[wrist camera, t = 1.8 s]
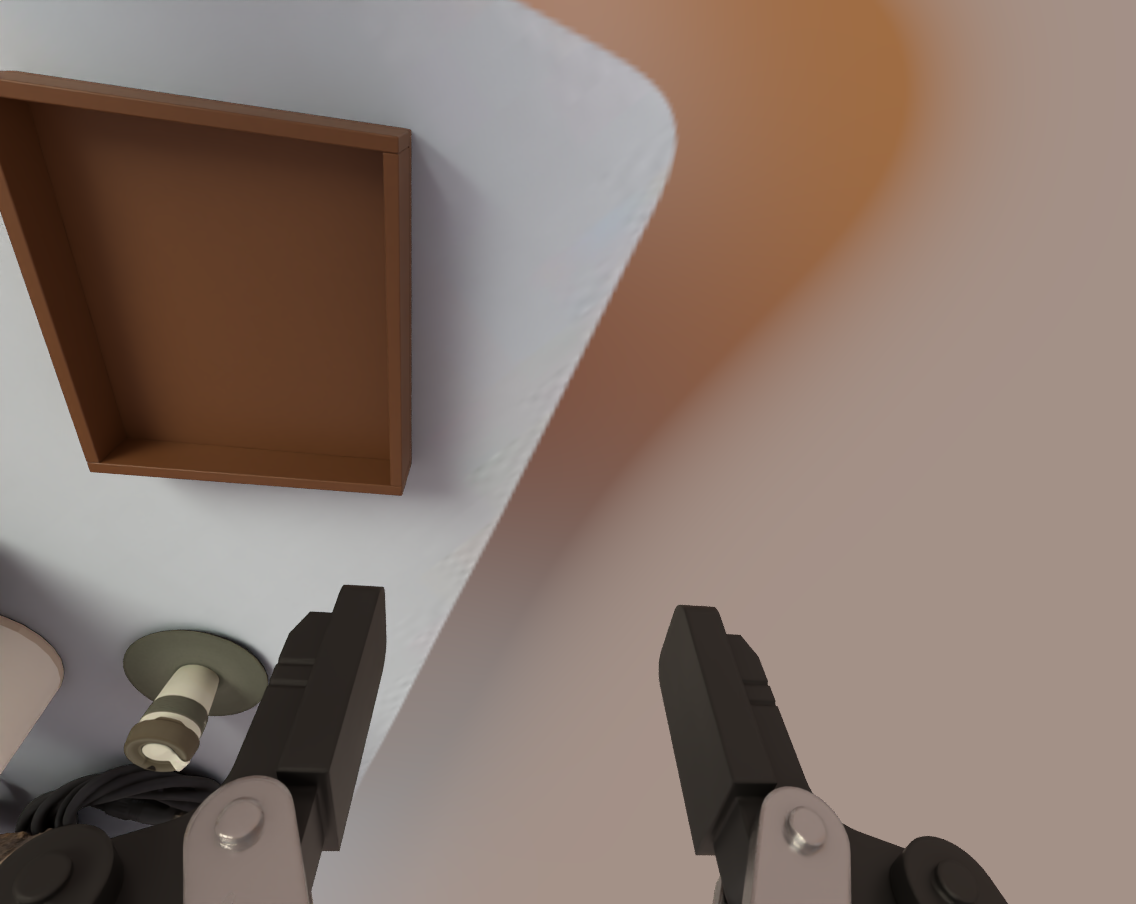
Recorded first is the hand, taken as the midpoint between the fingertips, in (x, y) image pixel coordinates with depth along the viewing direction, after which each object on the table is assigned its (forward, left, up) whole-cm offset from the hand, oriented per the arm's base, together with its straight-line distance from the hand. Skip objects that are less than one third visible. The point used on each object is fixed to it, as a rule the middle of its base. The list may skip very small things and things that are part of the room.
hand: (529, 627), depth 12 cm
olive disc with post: (+23, -17, -16) cm, 33 cm away
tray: (0, -11, -16) cm, 19 cm away
